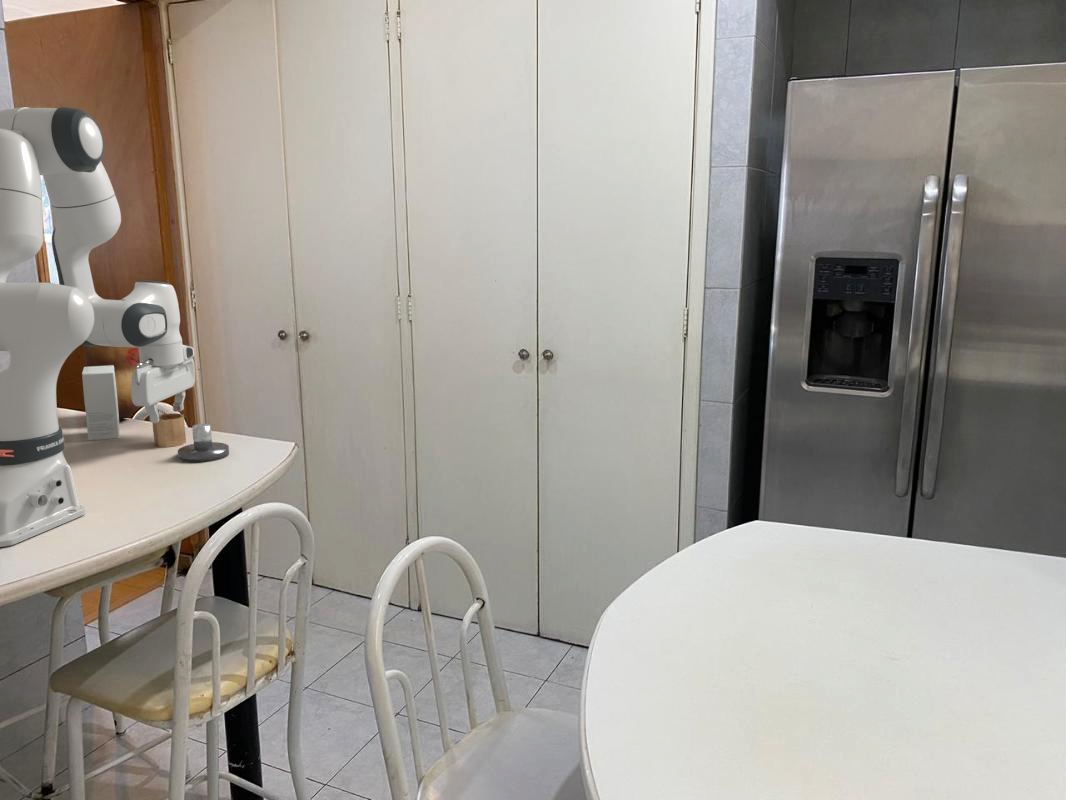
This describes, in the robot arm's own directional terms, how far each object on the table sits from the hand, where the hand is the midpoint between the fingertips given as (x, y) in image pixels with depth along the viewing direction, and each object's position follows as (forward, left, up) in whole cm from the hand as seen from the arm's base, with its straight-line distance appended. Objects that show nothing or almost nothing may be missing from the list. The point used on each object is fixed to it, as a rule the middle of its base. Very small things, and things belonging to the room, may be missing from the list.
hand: (167, 416), depth 181 cm
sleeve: (-1, 0, -6) cm, 6 cm away
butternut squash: (+17, +24, -6) cm, 30 cm away
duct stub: (-9, -12, -6) cm, 16 cm away
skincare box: (+3, +18, -6) cm, 19 cm away
